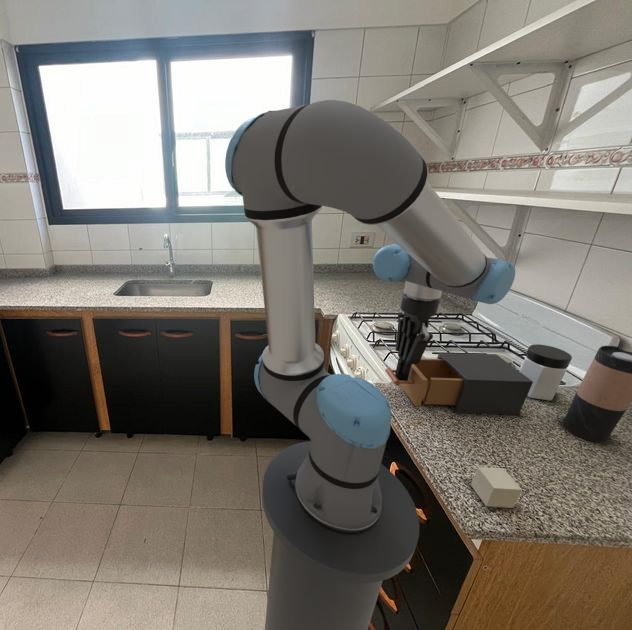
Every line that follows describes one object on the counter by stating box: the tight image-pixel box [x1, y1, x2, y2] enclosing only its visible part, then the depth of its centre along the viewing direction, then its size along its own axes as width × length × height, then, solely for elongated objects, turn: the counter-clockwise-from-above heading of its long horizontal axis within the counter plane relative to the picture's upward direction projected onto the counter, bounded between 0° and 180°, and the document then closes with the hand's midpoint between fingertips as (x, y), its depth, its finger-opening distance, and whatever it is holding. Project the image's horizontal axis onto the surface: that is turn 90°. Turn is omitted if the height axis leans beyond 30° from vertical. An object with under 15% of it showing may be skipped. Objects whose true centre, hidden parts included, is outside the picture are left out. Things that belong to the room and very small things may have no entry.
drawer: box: [384, 357, 464, 407], centre depth 89 cm, size 18×11×8 cm, turn 86°
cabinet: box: [436, 352, 533, 416], centre depth 88 cm, size 15×13×10 cm
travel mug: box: [562, 345, 632, 443], centre depth 74 cm, size 8×8×20 cm
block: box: [470, 466, 523, 509], centre depth 62 cm, size 5×5×5 cm
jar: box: [518, 343, 573, 402], centre depth 90 cm, size 9×8×12 cm
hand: (400, 381), depth 89 cm, fingers closed
